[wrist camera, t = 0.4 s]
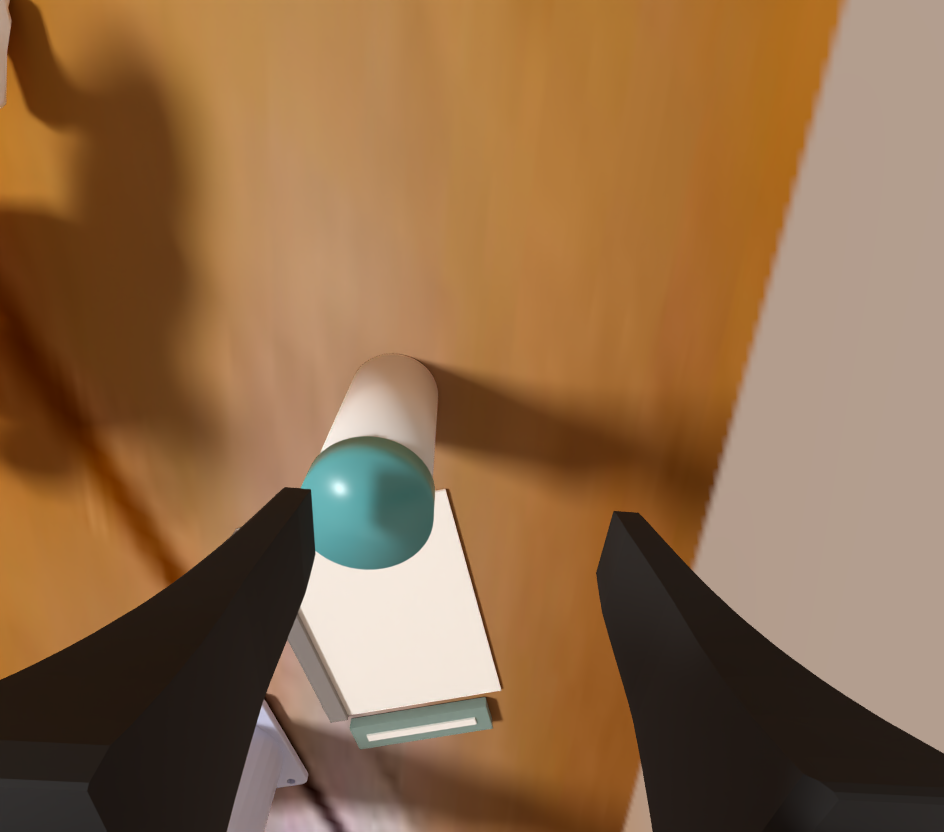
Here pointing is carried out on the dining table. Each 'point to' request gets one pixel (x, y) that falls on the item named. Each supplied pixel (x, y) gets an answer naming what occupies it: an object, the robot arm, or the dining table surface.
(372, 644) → the white rectangular slab
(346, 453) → the white teal cylinder
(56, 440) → the dining table surface
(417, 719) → the green striped bar
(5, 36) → the person figurine
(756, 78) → the dining table surface
